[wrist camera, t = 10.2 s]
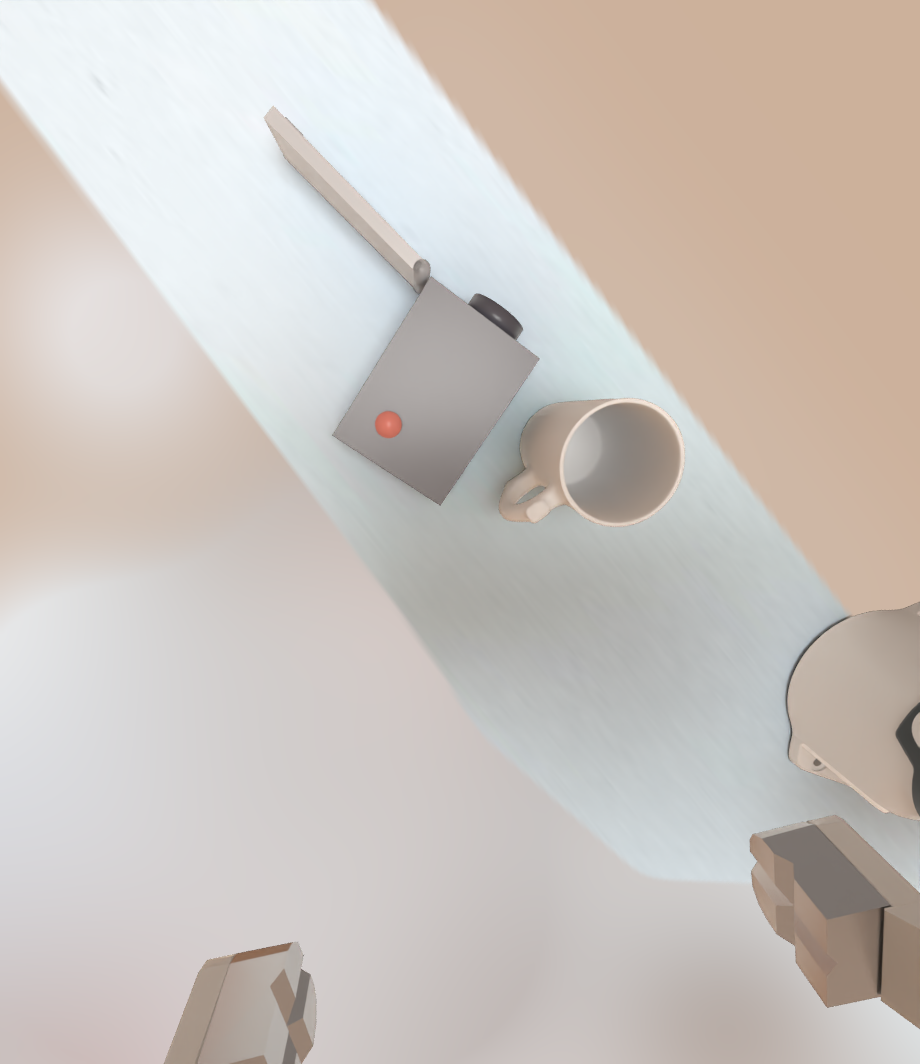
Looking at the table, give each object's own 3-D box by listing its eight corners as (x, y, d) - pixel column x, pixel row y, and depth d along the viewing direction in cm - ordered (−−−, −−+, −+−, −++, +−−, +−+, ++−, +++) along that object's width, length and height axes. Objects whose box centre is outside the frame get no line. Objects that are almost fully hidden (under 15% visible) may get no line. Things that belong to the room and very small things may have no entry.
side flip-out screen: (421, 297, 35) (422, 281, 30) (284, 159, 32) (262, 119, 28) (433, 283, 35) (436, 265, 30) (296, 144, 32) (276, 100, 27)
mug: (577, 380, 37) (650, 371, 26) (620, 457, 39) (706, 481, 28) (461, 457, 38) (482, 481, 26) (508, 529, 40) (547, 582, 28)
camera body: (532, 348, 37) (555, 339, 31) (436, 491, 39) (440, 507, 33) (437, 276, 35) (442, 252, 29) (342, 429, 37) (329, 435, 31)
